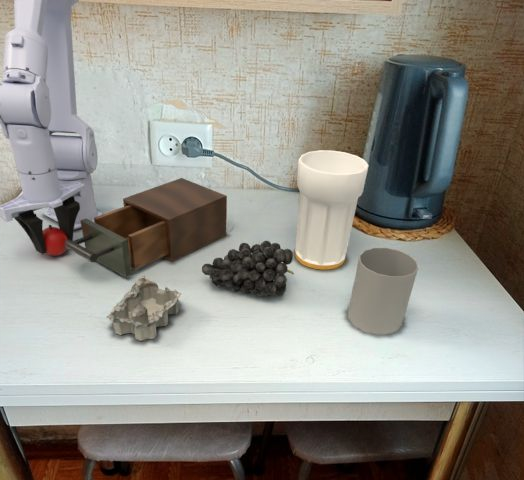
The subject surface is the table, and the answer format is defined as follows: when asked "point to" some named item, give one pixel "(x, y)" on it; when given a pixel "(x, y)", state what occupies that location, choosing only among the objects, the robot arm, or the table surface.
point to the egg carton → (144, 309)
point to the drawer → (122, 239)
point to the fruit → (252, 269)
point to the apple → (54, 240)
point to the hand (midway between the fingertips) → (54, 246)
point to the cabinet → (185, 214)
